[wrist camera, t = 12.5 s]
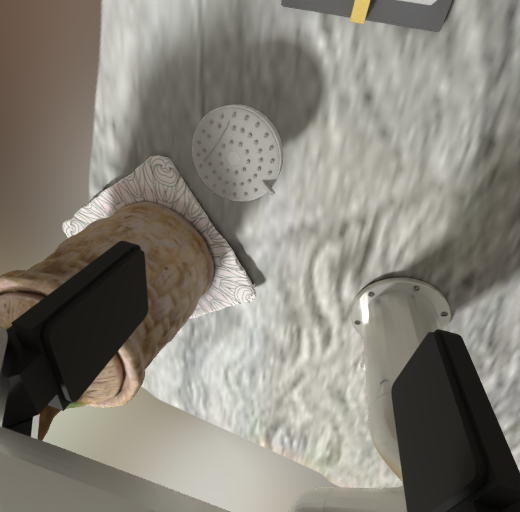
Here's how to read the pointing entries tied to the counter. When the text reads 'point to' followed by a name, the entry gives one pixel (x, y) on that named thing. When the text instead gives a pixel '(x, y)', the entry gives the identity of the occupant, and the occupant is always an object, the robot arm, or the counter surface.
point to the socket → (382, 11)
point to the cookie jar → (157, 271)
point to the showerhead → (237, 152)
